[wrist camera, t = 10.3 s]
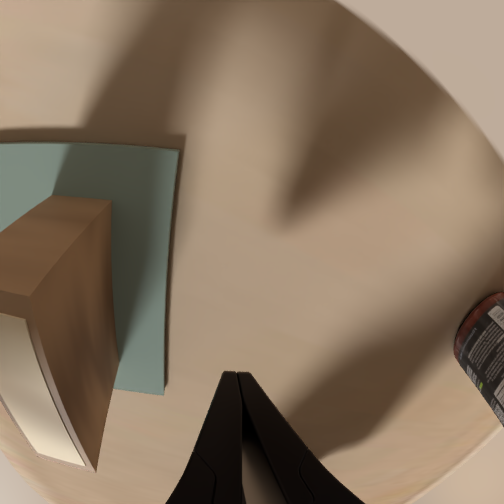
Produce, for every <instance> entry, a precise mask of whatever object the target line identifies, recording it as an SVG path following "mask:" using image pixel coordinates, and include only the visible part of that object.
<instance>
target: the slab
mask: <svg viewBox="0 0 504 504" xmlns="http://www.w3.org/2000/svg"><path fill="white" fill-rule="evenodd" d="M111 214H112V200H104V199H93V198H82V197H71V196H59V195H51V196H49V197H48V198H47V199H45V200H44V201H42V202H41V203H39V204H38V205H36V206H35V207H34V208H32V209H31V210H29V211H28V212H27V213H25V214H24V215H22V216H21V217H20V218H18V219H17V220H16V221H14V222H13V223H12V224H10V225H9V226H8V227H7V228H5V229H4V230H3V231H1V232H0V401H1V402H2V404H3V406H4V408H5V409H6V411H7V413H8V414H9V416H10V418H11V419H12V421H13V422H14V424H15V425H16V427H17V428H18V430H19V431H20V433H21V434H22V436H23V437H24V439H25V440H26V442H27V443H28V445H29V446H30V447H31V449H32V450H33V452H34V453H35V454H36V456H37V457H40V458H43V459H46V460H49V461H53V462H56V463H59V464H63V465H66V466H70V467H73V468H77V469H81V470H85V471H89V472H94V473H96V470H97V464H98V458H99V453H100V447H101V442H102V437H103V432H104V427H105V422H106V417H107V413H108V408H109V404H110V400H111V395H112V391H113V387H114V383H115V379H116V375H117V371H118V367H119V357H118V349H117V340H116V330H115V318H114V305H113V289H112V262H111Z"/></svg>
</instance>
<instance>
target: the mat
mask: <svg viewBox="0 0 504 504" xmlns="http://www.w3.org/2000/svg"><path fill="white" fill-rule="evenodd" d="M179 151H180V150H178V149H168V148H158V147H147V146H135V145H121V144H104V143H82V142H1V143H0V232H1V231H3V230H4V229H5V228H7V227H8V226H9V225H10V224H12V223H13V222H14V221H16V220H17V219H18V218H20V217H21V216H22V215H24V214H25V213H27V212H28V211H29V210H31V209H32V208H34V207H35V206H36V205H38V204H39V203H41V202H42V201H44V200H45V199H47V198H48V197H49V196H51V195H59V196H71V197H82V198H93V199H104V200H112V214H111V262H112V289H113V305H114V318H115V330H116V340H117V349H118V357H119V367H118V371H117V375H116V379H115V383H114V387H113V388H114V389H120V390H126V391H133V392H140V393H147V394H155V395H164V390H165V376H164V361H165V312H166V289H167V272H168V257H169V243H170V231H171V220H172V210H173V200H174V191H175V182H176V174H177V166H178V158H179Z"/></svg>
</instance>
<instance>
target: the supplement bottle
mask: <svg viewBox="0 0 504 504" xmlns="http://www.w3.org/2000/svg"><path fill="white" fill-rule="evenodd" d="M454 355H455V358H456V359H457V361H458V362H459V364H460V366H461V367H462V368H463V370H464V371H465V373H466V374H467V375H468V376H469V378H470V379H471V380H472V382H473V383H474V384H475V386H476V387H477V388H478V390H479V391H480V393H481V394H482V396H483V397H484V398H485V400H486V402H487V403H488V404H489V406H490V407H491V408H492V410H493V411H494V413H495V414H496V416H497V417H498V419H499V420H500V422H501V423H502V425H503V427H504V292H499V293H495V294H493V295H491V296H489V297H487V298H486V299H485V300H484V301H482V302H481V303H480V304H479V305H478V306H477V307H476V308H475V309H474V310H473V311H472V312H471V313H470V315H469V316H468V317H467V319H466V320H465V321H464V323H463V325H462V326H461V328H460V330H459V331H458V333H457V336H456V340H455V343H454Z"/></svg>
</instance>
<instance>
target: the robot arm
mask: <svg viewBox="0 0 504 504" xmlns="http://www.w3.org/2000/svg"><path fill="white" fill-rule="evenodd" d="M165 504H365V503H364V502H363V501H361V500H360V499H359V498H358V497H357V496H355V495H354V494H353V493H352V492H351V491H350V490H348V489H347V488H346V487H345V486H344V485H343V484H342V483H341V482H339V481H338V480H337V479H336V478H335V477H334V476H333V475H332V474H331V473H330V472H329V471H328V470H327V469H326V468H325V467H324V466H323V465H322V464H321V463H320V461H319V460H318V459H317V458H316V457H315V456H314V454H313V453H312V452H311V451H310V450H308V447H307V446H306V445H305V444H304V442H303V441H302V440H301V439H300V437H299V436H298V435H297V434H296V432H295V431H294V430H293V429H292V427H291V426H290V425H289V423H288V422H287V421H286V420H285V418H284V417H283V416H282V414H281V413H280V412H279V411H278V409H277V408H276V407H275V405H274V404H273V403H272V401H271V400H270V399H269V397H268V396H267V395H266V393H265V392H264V391H263V389H262V388H261V387H260V385H259V384H258V383H257V381H256V380H255V379H254V377H253V376H252V374H251V373H249V372H237V373H236V372H235V371H224V372H223V373H222V376H221V379H220V381H219V384H218V387H217V389H216V392H215V394H214V397H213V400H212V402H211V405H210V408H209V410H208V413H207V415H206V418H205V421H204V423H203V426H202V428H201V431H200V434H199V436H198V439H197V441H196V444H195V447H194V449H193V452H192V454H191V456H190V459H189V462H188V464H187V466H186V468H185V471H184V473H183V475H182V477H181V479H180V480H179V482H178V484H177V486H176V487H175V489H174V491H173V492H172V494H171V496H170V497H169V499H168V500H167V502H166V503H165Z"/></svg>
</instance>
